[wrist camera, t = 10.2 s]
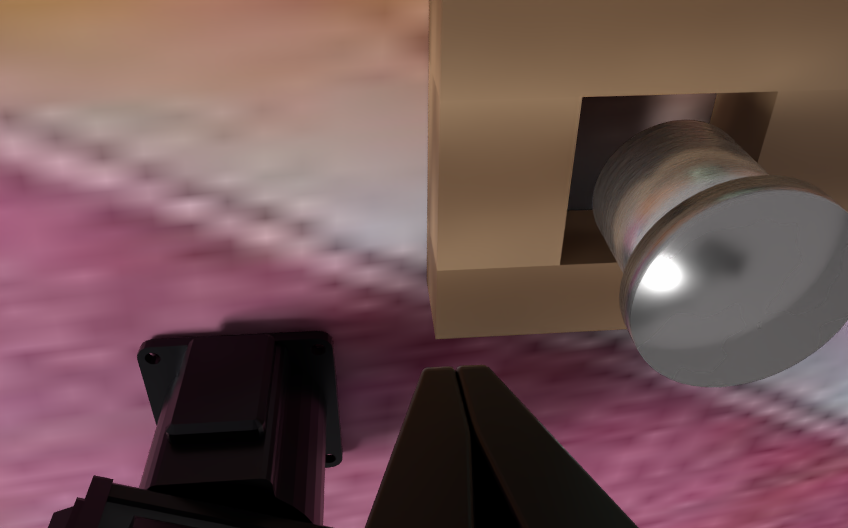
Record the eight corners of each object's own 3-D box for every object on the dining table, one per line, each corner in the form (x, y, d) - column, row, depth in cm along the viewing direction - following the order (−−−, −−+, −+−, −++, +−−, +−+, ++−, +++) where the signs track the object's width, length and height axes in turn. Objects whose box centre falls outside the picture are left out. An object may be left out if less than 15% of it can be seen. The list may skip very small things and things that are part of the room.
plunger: (736, 265, 21) (825, 381, 17) (563, 273, 20) (614, 393, 16) (787, 97, 18) (908, 190, 14) (586, 103, 17) (655, 199, 14)
